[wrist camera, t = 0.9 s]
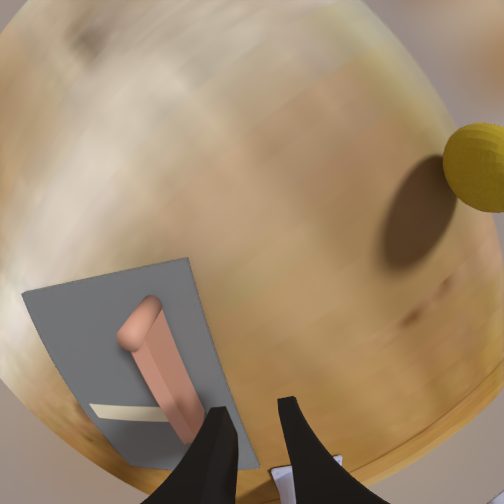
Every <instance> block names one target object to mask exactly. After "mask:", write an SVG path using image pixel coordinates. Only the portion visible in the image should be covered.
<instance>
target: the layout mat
mask: <svg viewBox="0 0 504 504" xmlns="http://www.w3.org/2000/svg"><path fill="white" fill-rule="evenodd" d="M21 295H22V297H23V300H24V302H25V305H26V307H27V310H28V312H29V314H30V317H31V319H32V321H33V323H34V326H35V328H36V330H37V332H38V334H39V336H40V338H41V340H42V342H43V344H44V346H45V348H46V350H47V352H48V354H49V355H50V357H51V359H52V361H53V363H54V364H55V366H56V368H57V370H58V371H59V373H60V375H61V376H62V378H63V379H64V381H65V383H66V384H67V386H68V387H69V389H70V391H71V392H72V394H73V395H74V397H75V398H76V399H77V401H78V402H79V404H80V405H81V407H82V408H83V409H84V411H85V412H86V414H87V415H88V416H89V418H90V419H91V420H92V422H93V423H94V424H95V425H96V427H97V428H98V429H99V430H100V432H101V433H102V434H103V435H104V437H105V438H106V439H107V440H108V441H109V442H110V444H111V445H112V446H113V447H114V448H115V449H116V450H117V452H118V453H119V454H120V455H121V456H122V457H123V458H124V459H125V460H126V461H127V462H128V463H129V464H130V465H131V466H135V467H143V468H152V469H163V470H174V469H175V468H176V466H177V465H178V464H179V462H180V461H181V459H182V458H183V456H182V453H183V448H184V443H183V442H182V441H181V439H180V438H179V436H178V435H177V433H176V432H175V430H174V428H173V427H172V425H171V424H170V422H169V421H168V419H167V417H166V416H165V414H164V412H163V411H162V409H161V407H160V406H159V404H158V402H157V401H156V399H155V397H154V395H153V394H152V392H151V390H150V388H149V386H148V385H147V383H146V381H145V379H144V377H143V375H142V373H141V371H140V369H139V367H138V365H137V363H136V361H135V359H134V357H133V355H132V353H131V351H128V350H125V349H124V348H123V347H121V346H120V344H119V343H118V341H117V333H118V331H119V330H120V328H121V327H122V326H123V324H124V323H125V322H126V321H127V319H128V318H129V317H130V315H131V314H132V313H133V311H134V310H135V309H136V308H137V306H138V305H139V304H140V302H141V301H142V300H143V299H144V297H146V296H148V295H153V296H155V297H157V298H158V299H159V300H160V301H161V303H162V310H163V313H164V315H165V318H166V321H167V324H168V326H169V329H170V331H171V334H172V337H173V339H174V342H175V344H176V347H177V349H178V352H179V354H180V357H181V359H182V361H183V364H184V366H185V369H186V371H187V373H188V375H189V378H190V380H191V382H192V384H193V387H194V389H195V391H196V393H197V395H198V398H199V400H200V402H201V404H202V406H203V408H204V410H205V411H206V412H207V413H208V411H209V409H210V408H211V407H221V406H226V408H227V410H228V412H229V415H230V417H231V419H232V422H233V424H234V426H235V429H236V431H237V433H238V447H239V459H238V470H244V469H255V468H260V464H259V462H258V459H257V457H256V455H255V452H254V450H253V448H252V445H251V443H250V440H249V438H248V436H247V433H246V431H245V428H244V426H243V423H242V421H241V418H240V415H239V413H238V410H237V408H236V405H235V402H234V400H233V397H232V394H231V392H230V389H229V386H228V383H227V381H226V378H225V375H224V372H223V369H222V366H221V364H220V361H219V358H218V355H217V352H216V349H215V346H214V343H213V340H212V337H211V333H210V330H209V327H208V324H207V321H206V318H205V314H204V311H203V308H202V305H201V301H200V298H199V294H198V291H197V288H196V284H195V281H194V277H193V274H192V270H191V266H190V263H189V259H188V257H187V258H182V259H177V260H172V261H167V262H163V263H158V264H153V265H148V266H143V267H138V268H134V269H129V270H124V271H119V272H115V273H110V274H105V275H100V276H96V277H91V278H86V279H81V280H77V281H72V282H67V283H63V284H58V285H54V286H49V287H44V288H40V289H35V290H31V291H26V292H24V293H22V294H21Z"/></svg>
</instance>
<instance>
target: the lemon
mask: <svg viewBox="0 0 504 504" xmlns="http://www.w3.org/2000/svg"><path fill="white" fill-rule="evenodd" d="M443 170H444V174H445V177H446V180H447V182H448V184H449V186H450V188H451V189H452V191H453V192H454V194H455V195H456V196H457V197H458V198H459V199H460V200H461V201H462V202H464V203H465V204H467V205H469V206H471V207H473V208H475V209H477V210H480V211H483V212H493V213H494V212H495V213H500V212H504V127H502V126H499V125H495V124H489V123H474V124H470V125H467V126H464V127H462V128H460V129H458V130H457V131H456V132H455V133H454V134H453V135H452V136H451V137H450V138H449V140H448V142H447V144H446V146H445V149H444V153H443Z"/></svg>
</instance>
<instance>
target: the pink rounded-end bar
mask: <svg viewBox="0 0 504 504" xmlns="http://www.w3.org/2000/svg"><path fill="white" fill-rule="evenodd" d="M117 341H118V343H119V344H120V346H121V347H123V348H124V349H125V350H128V351H131V353H132V355H133V357H134V359H135V361H136V363H137V365H138V367H139V369H140V371H141V373H142V375H143V377H144V379H145V381H146V383H147V385H148V386H149V388H150V390H151V392H152V394H153V395H154V397H155V399H156V401H157V402H158V404H159V406H160V407H161V409H162V411H163V412H164V414H165V416H166V417H167V419H168V421H169V422H170V424H171V425H172V427H173V428H174V430H175V432H176V433H177V435H178V436H179V438H180V439H181V441H182V442H183V443H184V448H183V453H182V456H184V455H185V453H186V452H187V450H188V449H189V447H190V446H191V444H192V442H193V440H194V439H195V437H196V435H197V433H198V432H199V430H200V428H201V426H202V424H203V422H204V420H205V418H206V416H207V414H208V413H207V412H206V411H205V410H204V408H203V406H202V404H201V402H200V400H199V398H198V395H197V393H196V391H195V389H194V387H193V384H192V382H191V380H190V378H189V375H188V373H187V371H186V369H185V366H184V364H183V361H182V359H181V357H180V354H179V352H178V349H177V347H176V344H175V342H174V339H173V337H172V334H171V331H170V329H169V326H168V324H167V321H166V318H165V315H164V313H163V310H162V303H161V301H160V300H159V299H158V298H157V297H155V296H153V295H148V296H146V297H144V299H143V300H142V301H141V302H140V304H139V305H138V306H137V308H136V309H135V310H134V311H133V313H132V314H131V315H130V317H129V318H128V319H127V321H126V322H125V323H124V324H123V326H122V327H121V328H120V330H119V331H118V333H117Z"/></svg>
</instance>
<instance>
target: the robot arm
mask: <svg viewBox="0 0 504 504" xmlns="http://www.w3.org/2000/svg"><path fill="white" fill-rule="evenodd" d="M277 401H278V411H279V417H280V421H281V425H282V429H283V433H284V438H285V442H286V446H287V450H288V454H289V458H290V462H291V465H292V466H286V467H279V468H273V469H272V470H271V473H272V476H273V478H274V481H275V483H276V486H277V488H278V491H279V493H280V501H281V504H390V503H388V502H386V501H384V500H383V499H381V498H380V497H378V496H377V495H376V494H374V493H373V492H371V491H370V490H368V489H367V488H366V487H365V486H363V485H362V484H361V483H360V482H358V481H357V480H356V479H355V478H354V477H352V476H351V475H350V474H349V473H348V472H347V471H346V470H345V469H344V468H343V467H342V456H340V455H338V456H334V457H332V456H331V454H330V453H329V452H328V451H327V450H326V448H325V447H324V446H323V445H322V443H321V442H320V441H319V439H318V438H317V437H316V435H315V434H314V432H313V431H312V429H311V428H310V426H309V425H308V423H307V421H306V420H305V418H304V416H303V414H302V412H301V410H300V408H299V405H298V403H297V400H296V397H294V396H291V397H285V398H280V399H277ZM238 459H239V447H238V433H237V431H236V429H235V426H234V424H233V422H232V419H231V417H230V415H229V412H228V410H227V408H226V406H221V407H211V408H210V409H209V411H208V414H207V416H206V418H205V420H204V422H203V424H202V426H201V428H200V430H199V432H198V433H197V435H196V437H195V439H194V440H193V442H192V444H191V446H190V447H189V449H188V450H187V452H186V453H185V455H184V456H183V458H182V459H181V461H180V462H179V464H178V465H177V466H176V468H175V469H174V470H173V472H172V473H171V474H170V475H169V476H168V478H167V479H166V480H165V481H164V482H163V483H162V484H161V485H160V486H159V487H158V488H157V489H156V490H155V491H154V492H153V493H152V494H151V495H150V496H149V497H148V498H147V499H145V500H144V501H143V502H142V503H140V504H235V495H236V483H237V471H238ZM487 504H504V490H503V491H502V492H501V493H499V494H498V495H497V496H496V497H494V498H493V499H492V500H490V501H489V502H488V503H487Z"/></svg>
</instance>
